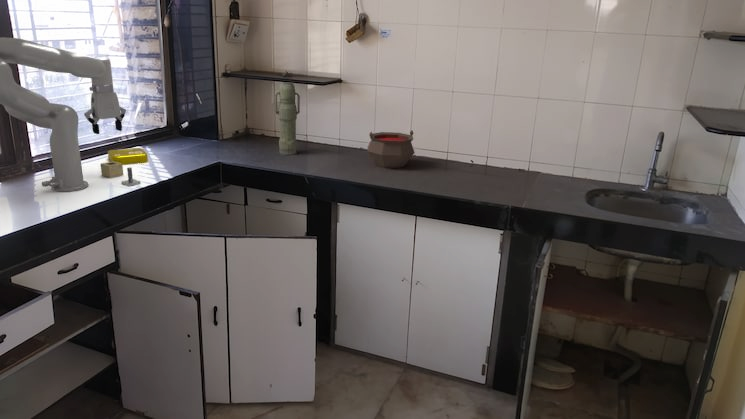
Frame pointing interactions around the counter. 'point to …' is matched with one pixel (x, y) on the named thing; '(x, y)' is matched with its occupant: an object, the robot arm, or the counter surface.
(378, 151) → the brown cauldron
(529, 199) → the counter surface
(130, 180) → the grey post on base
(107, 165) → the tan box with hole
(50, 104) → the robot arm
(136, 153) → the element tile
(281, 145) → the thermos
